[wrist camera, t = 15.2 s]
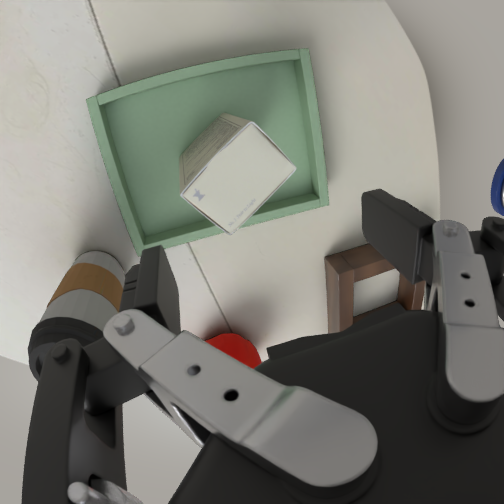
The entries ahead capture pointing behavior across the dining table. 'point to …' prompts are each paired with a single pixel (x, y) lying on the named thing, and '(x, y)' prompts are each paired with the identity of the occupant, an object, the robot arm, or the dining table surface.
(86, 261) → the coffee cup
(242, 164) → the cosmetic box
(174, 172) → the tray
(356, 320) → the wooden square frame
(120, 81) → the dining table surface
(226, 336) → the tomato
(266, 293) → the dining table surface
